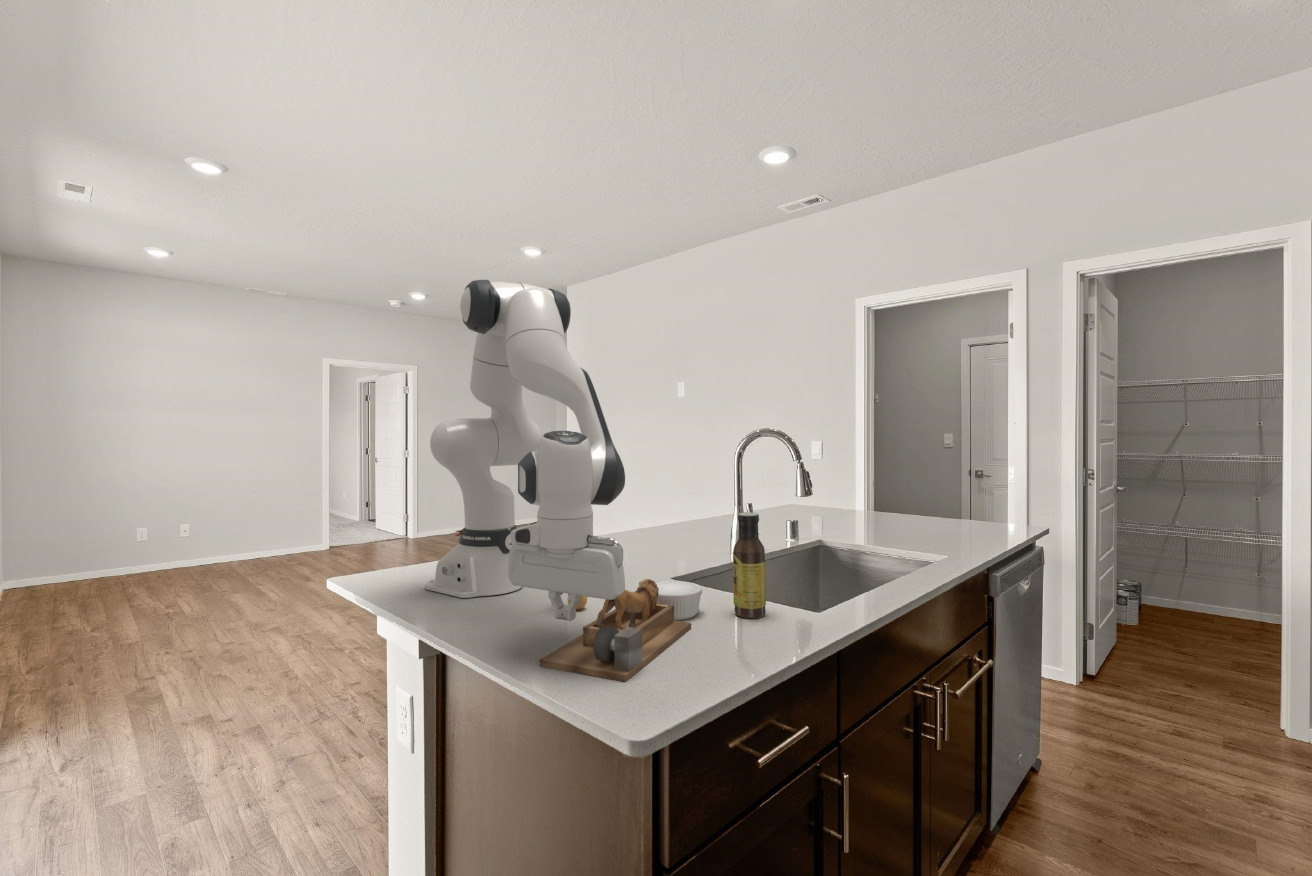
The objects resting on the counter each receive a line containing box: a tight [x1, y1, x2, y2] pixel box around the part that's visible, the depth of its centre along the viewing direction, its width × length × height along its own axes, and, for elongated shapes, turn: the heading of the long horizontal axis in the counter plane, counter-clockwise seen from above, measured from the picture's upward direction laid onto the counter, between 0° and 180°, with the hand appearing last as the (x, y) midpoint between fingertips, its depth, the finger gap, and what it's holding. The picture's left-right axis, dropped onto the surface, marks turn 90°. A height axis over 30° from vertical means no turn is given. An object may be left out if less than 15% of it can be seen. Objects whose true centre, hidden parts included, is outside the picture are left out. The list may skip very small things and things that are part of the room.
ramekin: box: [655, 580, 703, 621], centre depth 123 cm, size 11×11×5 cm
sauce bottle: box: [732, 511, 767, 619], centre depth 121 cm, size 6×6×20 cm
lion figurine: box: [596, 578, 659, 630], centre depth 108 cm, size 15×5×9 cm, turn 147°
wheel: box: [593, 626, 619, 662], centre depth 95 cm, size 3×5×5 cm
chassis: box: [539, 604, 692, 683], centre depth 105 cm, size 15×26×6 cm, turn 155°
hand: (565, 618), depth 100 cm, fingers closed
